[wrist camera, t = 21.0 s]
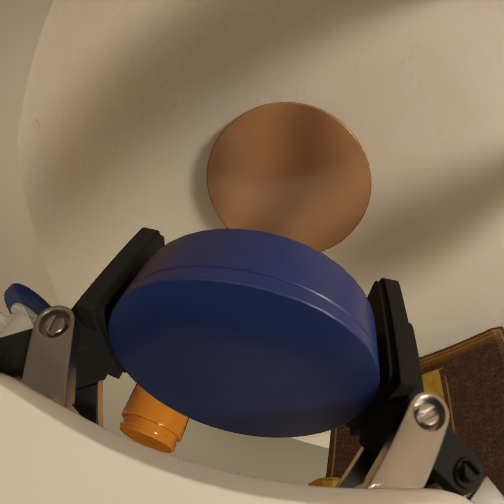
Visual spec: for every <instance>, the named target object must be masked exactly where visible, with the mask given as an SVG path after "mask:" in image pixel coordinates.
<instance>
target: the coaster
mask: <svg viewBox="0 0 504 504" xmlns="http://www.w3.org/2000/svg"><path fill="white" fill-rule="evenodd" d="M207 185H208V191H209V195H210V198H211V202H212V204H213V206H214V208H215V211H216V212H217V214H218V216H219V217H220V219H221V220H222V221H223V223H224V224H225V225H226V226H227V228H228V229H249V230H256V231H264V232H268V233H272V234H277V235H280V236H284V237H287V238H290V239H292V240H295V241H298V242H300V243H303V244H305V245H307V246H309V247H311V248H313V249H315V250H317V251H319V252H322V251H324V250H327V249H329V248H331V247H333V246H335V245H336V244H338V243H340V242H341V241H342V240H344V239H345V238H346V237H347V236H348V235H349V234H350V233H351V232H352V231H353V230H354V229H355V228H356V226H357V225H358V224H359V222H360V221H361V219H362V217H363V215H364V214H365V211H366V209H367V206H368V203H369V199H370V194H371V173H370V168H369V163H368V161H367V158H366V155H365V153H364V151H363V149H362V147H361V145H360V143H359V141H358V140H357V139H356V137H355V136H354V135H353V133H352V132H351V131H350V130H349V129H348V128H347V127H346V126H345V125H344V124H343V123H342V122H341V121H339V120H338V119H337V118H335V117H334V116H332V115H330V114H329V113H327V112H325V111H323V110H321V109H318V108H316V107H313V106H309V105H306V104H302V103H293V102H278V103H272V104H266V105H263V106H260V107H257V108H254V109H252V110H250V111H248V112H246V113H244V114H243V115H241V116H240V117H238V118H237V119H235V120H234V121H233V122H232V123H231V124H229V125H228V126H227V127H226V128H225V130H224V131H223V132H222V133H221V134H220V136H219V137H218V139H217V141H216V142H215V144H214V146H213V149H212V151H211V154H210V157H209V161H208V167H207Z"/></svg>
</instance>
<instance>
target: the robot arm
mask: <svg viewBox="0 0 504 504" xmlns="http://www.w3.org/2000/svg"><path fill="white" fill-rule="evenodd" d="M163 246H165V243H164V237H163V236H162V235H160V232H159V231H158V230H154V229H149V228H142V229H141V230H140V231H139V232H138V233H137V234H136V235H135V236H134V237H133V238H132V239H131V240H130V241H129V242H128V243H127V245H126V246H125V247H124V248H123V249H122V250H121V251H120V252H119V253H118V254H117V256H116V257H115V258H114V259H113V260H112V261H111V262H110V263H109V265H108V266H107V267H106V268H105V269H104V270H103V271H102V273H101V274H100V275H99V276H98V277H97V278H96V280H95V281H94V282H93V283H92V284H91V286H90V287H89V288H88V289H87V290H86V292H85V293H84V294H83V295H82V296H81V298H80V299H79V300H78V301H77V303H76V304H75V305H74V307H73V308H72V309H71V310H70V309H69V308H67V307H65V306H52V307H50V308H47V309H45V310H44V311H43V312H41V313H40V314H39V316H38V315H37V314H36V313H35V312H34V311H32V310H31V309H30V308H28V307H27V306H25V305H24V304H21V303H14V304H13V305H12V307H11V313H12V315H11V316H6V315H4V314H3V313H1V312H0V322H1V323H2V324H3V325H4V329H3V330H2V331H1V332H0V504H504V496H503V495H502V494H501V492H500V491H499V490H498V489H497V488H496V486H495V485H494V484H493V483H492V482H491V480H490V479H489V478H488V477H487V476H486V477H484V478H483V473H484V472H483V465H482V462H481V460H480V459H479V457H478V456H477V455H476V454H475V453H474V452H473V451H472V450H471V449H470V448H469V447H468V446H467V445H466V444H465V443H464V442H463V441H462V440H461V439H460V438H459V437H458V436H457V435H456V434H455V433H454V432H453V431H452V430H451V429H450V428H449V427H448V424H449V418H450V415H449V409H448V407H447V405H446V403H445V402H444V400H443V399H442V398H441V397H439V396H438V395H437V394H434V393H432V392H424V387H423V380H422V373H421V367H420V361H419V356H418V350H417V345H416V340H415V335H414V330H413V327H412V325H411V324H410V323H408V318H407V314H406V309H405V305H404V301H403V297H402V293H401V289H400V285H399V282H398V281H395V280H391V279H386V278H382V279H381V280H380V281H375V282H374V284H373V286H372V288H371V291H370V293H369V295H368V297H367V299H368V301H369V303H370V305H371V308H372V311H373V315H374V321H375V329H376V338H377V348H378V360H379V372H380V382H379V388H378V391H377V393H376V395H375V397H374V399H373V400H372V402H371V403H370V404H369V405H368V406H367V407H366V408H365V409H364V410H363V411H362V412H361V413H360V414H359V415H358V416H357V417H356V418H354V419H353V420H351V421H349V422H347V423H346V427H350V436H360V438H359V443H360V444H361V445H362V446H361V448H360V449H359V451H358V453H357V454H356V456H355V457H354V459H353V461H352V462H351V464H350V465H349V467H348V468H347V470H346V471H345V473H344V474H343V476H342V477H341V479H340V480H339V482H338V483H337V484H336V486H335V487H321V486H310V485H300V484H291V483H285V482H278V481H271V480H266V479H260V478H255V477H250V476H245V475H240V474H236V473H232V472H227V471H223V470H219V469H215V468H211V467H208V466H204V465H201V464H197V463H194V462H191V461H188V460H184V459H181V458H178V457H175V456H172V455H169V454H166V453H164V452H161V451H158V450H155V449H153V448H150V447H148V446H145V445H142V444H140V443H137V442H135V441H133V440H130V439H128V438H125V437H123V436H121V435H118V434H116V433H114V432H112V431H110V430H108V429H105V428H103V393H102V392H103V389H102V388H103V380H104V379H105V378H106V376H107V374H109V375H111V376H113V377H115V378H118V379H119V378H120V376H121V374H122V372H124V373H125V372H126V371H125V369H124V368H123V367H122V365H121V364H120V362H119V361H118V359H117V357H116V355H115V353H114V351H113V349H112V346H111V343H110V340H109V333H108V324H109V318H110V314H111V311H112V309H113V308H114V306H115V304H116V303H117V301H118V300H119V298H120V297H121V296H122V294H123V293H124V292H125V290H126V289H127V287H128V286H129V285H130V283H131V282H132V281H133V279H134V278H135V277H136V275H137V274H138V273H139V271H140V270H141V269H142V267H143V266H144V265H145V263H146V262H147V261H148V259H149V258H150V257H151V256H152V255H153V254H154V253H155V252H156V251H158V250H159V249H160V248H162V247H163Z"/></svg>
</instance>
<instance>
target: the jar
mask: <svg viewBox="0 0 504 504" xmlns="http://www.w3.org/2000/svg"><path fill="white" fill-rule="evenodd" d="M122 416H123V418H124V420H123V422H121V423H120V430H121V431H122V432H123V433H124V434H125V435H126V436H128V437H129V438H131V439H133V440H134V441H136V442H138V443H140V444H142V445H145V446H148V447H150V448H153V449H155V450H158V451H161V452H167V453H170V452H173V451H174V448H175V447H176V442H179V441H181V439H182V436H183V434H184V431H185V428H186V425H187V423H188V420H189V417H186V416H184V415H182V414H180V413H178V412H176V411H175V410H173V409H171V408H169V407H168V406H166V405H164V404H163V403H161V402H160V401H158V400H157V399H155V398H154V397H153V396H151V395H150V394H149V393H147V392H146V391H145V390H144V389H143V388H142V387H140V386H139V385H138V384H136V386H135V388H134V390H133V392H132V394H131V396H130V398H129V400H128V402H127V404H126V406H125V408H124V410H123V412H122Z"/></svg>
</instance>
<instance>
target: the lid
mask: <svg viewBox="0 0 504 504" xmlns="http://www.w3.org/2000/svg"><path fill="white" fill-rule="evenodd" d="M108 333H109V340H110V343H111V346H112V349H113V351H114V353H115V355H116V357H117V359H118V361H119V362H120V364H121V365H122V367H123V368H124V369H125V371H126V372H127V373H128V374H129V375H130V377H131V378H132V379H133V380H134V381H135V382H136V383H137V384H138V385H139V386H140V387H142V388H143V389H144V390H145V391H146V392H147V393H149V394H150V395H151V396H153V397H154V398H155V399H157V400H158V401H160V402H161V403H163V404H164V405H166V406H168V407H169V408H171V409H173V410H175V411H176V412H178V413H180V414H182V415H184V416H186V417H189V418H191V419H193V420H195V421H198V422H201V423H203V424H206V425H209V426H212V427H215V428H218V429H222V430H225V431H230V432H234V433H239V434H244V435H251V436H260V437H298V436H307V435H312V434H317V433H321V432H325V431H328V430H331V429H334V428H337V427H339V426H342V425H344V424H346V423H347V422H349V421H351V420H353V419H354V418H356V417H357V416H358V415H359V414H360V413H361V412H362V411H363V410H364V409H365V408H366V407H367V406H368V405H369V404H370V403H371V402H372V400H373V399H374V397H375V395H376V393H377V391H378V388H379V382H380V372H379V360H378V348H377V338H376V329H375V321H374V315H373V311H372V308H371V305H370V303H369V301H368V299H367V297H366V295H365V293H364V292H363V290H362V289H361V287H360V286H359V285H358V284H357V282H356V281H355V280H354V279H353V277H352V276H351V275H349V274H348V273H347V272H346V271H345V270H344V269H343V268H342V267H341V266H340V265H339V264H337V263H336V262H334V261H333V260H331V259H330V258H329V257H327V256H326V255H324V254H323V253H321V252H319V251H317V250H315V249H313V248H311V247H309V246H307V245H305V244H303V243H300V242H298V241H295V240H292V239H290V238H287V237H284V236H280V235H277V234H272V233H268V232H264V231H256V230H249V229H214V230H205V231H200V232H196V233H193V234H189V235H185V236H183V237H180V238H178V239H176V240H173V241H171V242H169V243H168V244H166V245H165V246H163V247H162V248H160V249H159V250H158V251H156V252H155V253H154V254H153V255H152V256H151V257H150V258H149V259H148V261H147V262H146V263H145V265H144V266H143V267H142V269H141V270H140V271H139V273H138V274H137V275H136V277H135V278H134V279H133V281H132V282H131V283H130V285H129V286H128V287H127V289H126V290H125V292H124V293H123V294H122V296H121V297H120V298H119V300H118V301H117V303H116V304H115V306H114V308H113V309H112V311H111V314H110V318H109V324H108Z"/></svg>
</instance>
